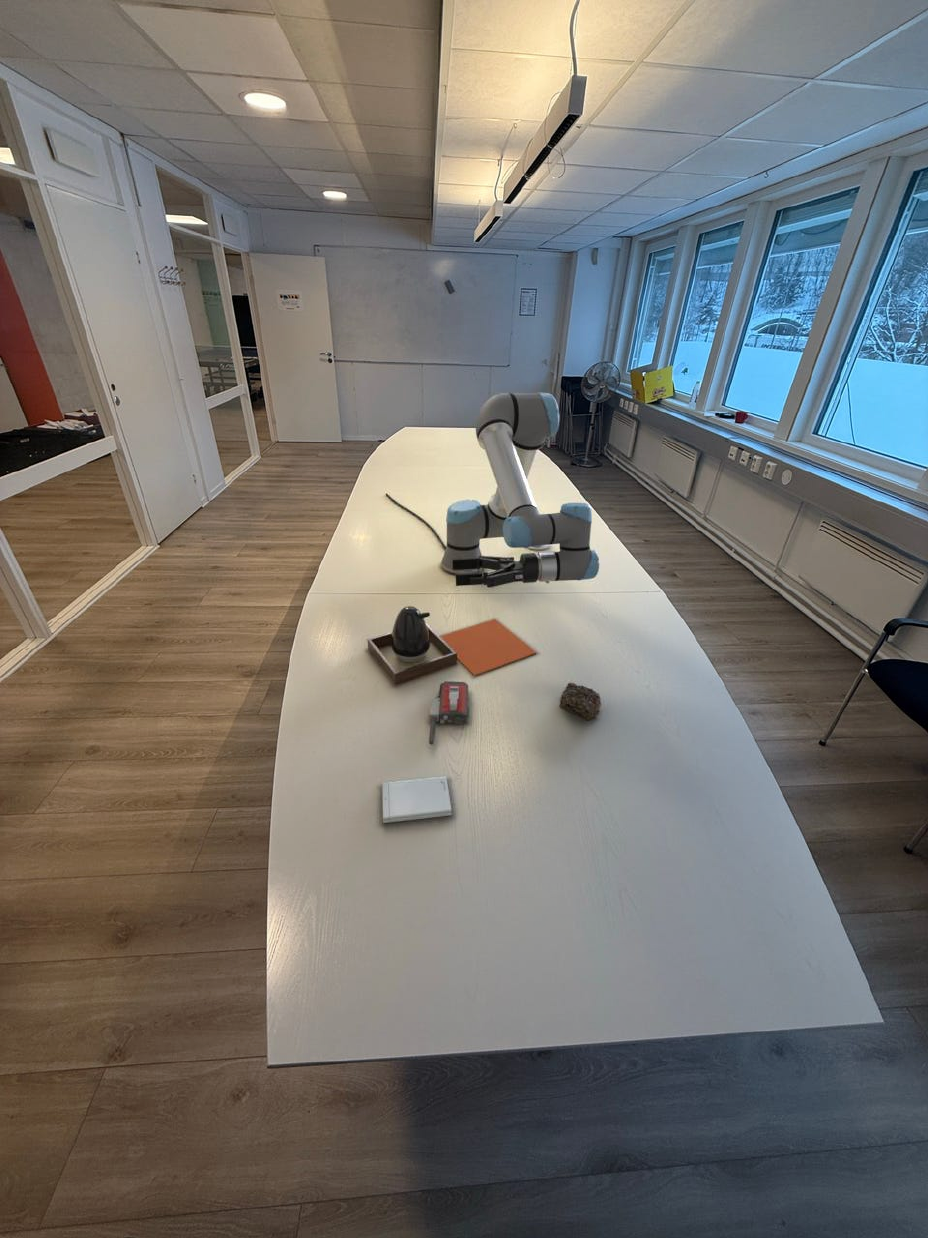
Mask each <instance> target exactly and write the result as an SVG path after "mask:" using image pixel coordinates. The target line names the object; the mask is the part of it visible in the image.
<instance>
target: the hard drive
mask: <svg viewBox="0 0 928 1238" xmlns="http://www.w3.org/2000/svg"><path fill="white" fill-rule="evenodd" d="M381 787H382V791H381V792H382V823H383V824H387V823H388V824H389V823H395V822H405V821H413V820H423V819H430V818H441V817H447V816H452V812H453V811H452V804H451V797H450V791H449V785H448V779H447V776H446V775H445V776H437V777H427V778H417V779H406V780H398V781H397V780H396V781H389V782H382V785H381Z"/></svg>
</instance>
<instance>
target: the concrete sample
mask: <svg viewBox="0 0 928 1238" xmlns="http://www.w3.org/2000/svg"><path fill="white" fill-rule="evenodd" d="M600 695H601V694H600V693H598V692H596V691H595V690H594V689H593V688H588V687H586V686H584V685H577V684H576V683H574V682H569V683H567V685H566V687H565V688H564V690H563V691H562V694H561V696H560V701H559V702H560V703H559V708H560V709H561V710H565V711H566V712H569V713H570V714H572V715H576V716H577V717H579V718H581V719H583V720H584V721H587V722H588V721H594V720H595V719H596V718H597V716H599V713H600V711H601V707H602V702H601V700H602V699H601V696H600Z"/></svg>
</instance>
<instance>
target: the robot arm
mask: <svg viewBox="0 0 928 1238" xmlns="http://www.w3.org/2000/svg"><path fill="white" fill-rule="evenodd" d="M559 426H560V410H559V406H558V402H557V400H556V397H554V395H553V394H551V393H549V392H540V391H537V392H512V393H508V392H503V393H498V394H495V395H493V396H491V397H490V398H488V400H487V401H485V403H484V404H483V405H482V406H481V408H480V409H479V412H478V414H477V416H476V422H475V435H476V439H477V442H478V446H479V447H480V448H481V449H483V450H484V451H485V454H486V457H487V461H488V463H489V466H490V469H491V472H492V474H493V477H494V480H495V483H496V490H495V493H494V494H492V495H491V496H490V497H489V499H488V503H486V504H481V502H480V501H478V500H474V499H464V500H462V499H461V500H459V501H456V502H453V503H451V504H450V505H449V506H448V508H447V511H446V518H445V519H446V520H445V522H446V545H445V544H444V541H443V540H442V538H441V537H440V536H439V534H438V533H437V531H436V530H435V529H434V528H433V527H432V526H431V525H430V524H429V523H428V522H427V521H426V520H425V519H424V518H422V517H421V516H419V514H416V513H415V512H413V511H412V510H410V509H409V508H407V507H406V506H404V505H403V504H401V503H399V502H398V501H397V500H395V499H393V498H392V497H391V496H390V495H389V493H387V492H386V493H385V496H386V497H387V498H388V499H389V500H391V501H392V502H393V503H395V504H396V505H397V506H399V507H400V508H402V509H404V510H405V511H407V512H408V513H410V514H411V515H413V516H414V517H416V518H417V519H418V520H420V521H421V522H423V524H425V525H426V526H427V527H428V528H429V529H430V531H432V532H433V534H434V535H435V536H436V538H437V539H438V541H439V543H440V544H441V546H442V548H443V549H444V553H443V557H442V558H441V568H442V570H443V571H444V572H446V573H449V574H451V575H455V586H456V587H464V586H480V585H481V586H486V588H488V589H489V588H490V589H491V588H493V587H499V586H503V585H508V584H512V583H518V582H522V583H523V584H531V583H532V584H533V583H537V582H539V583H545V584H550V582H564V581H565V582H566V581H568V582H569V581H578V582H579V581H584V580H590V579H591V580H592V579H594V578H596V577H597V575H598V573H599V570H600V562H599V561H600V558H599V557H600V556H599V555H598V552H597V551H596V550H595V549H591V544H590V542H591V531H592V524H593V521H592V520H593V519H592V517H593V516H592V507H591V505H590V504H588V503H585V502H567V503H562V504H561V505H560V510H559V512H555V513H554V512H553V513H542V514H541V513H539V510H538V508H537V504H536V502H535V500H534V497H533V494H532V490H531V488H530V485H529V483H528V477H529V475H530V472H531V468H532V467H533V466H532V465H533V462H534V460H535V456H536V454H537V451H538V450H540V449H542V448H543V447H544V446H545V442H546V439H547V437H548V438H551V437H554V436H555V435H556V434H557V432H558V430H559ZM495 538H503V539H504V540H503V541H504V543H505V544H506V545H507V546H508V547H509V548H512V549H521V548H522V549H527V548H528V547H532V546H540V545H549V546H550V545H559V551H543V552H540V551H539V552H537V553H535V552H528V553H526V552H525V553H522V554H521V555H520V557H519V560H518V561H517V560H515V557H513V556H508V557H507V556H491V555H482V551H481V548H480V541H481V540H482V539H495ZM483 569H486V570H492V571H490V572H487V571H483ZM481 571H483V572H481Z"/></svg>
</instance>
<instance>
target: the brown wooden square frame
mask: <svg viewBox="0 0 928 1238" xmlns="http://www.w3.org/2000/svg"><path fill="white" fill-rule="evenodd" d="M425 623H426V625H427V628H428V632H429V637H430V643H432V644H433V645H434V646H435V647H436V648H437V650H439V651H440V652H441V653H442V654H443V655H442V656H438V657H435V658H433V659H430V660H427V661H424V662H421V663H418V664H415V665H412V666H409V667H406V668H402V669H400V670H396V669H395V667H394V666H393V665H392V664H391V663H390V662H389V660H388V659H387V657H385V655H384V654H383V653H382V652H381V650H380V649H381V648H384V647H388V646H391V639H392V631H391V632H387V633H384V634H380V635H377V636H375V637H374V636H373V637H371V638H367V641H366V642H367V650H368V652H369V653H370V655H372V657H373V658H374V659H375V660H376V662H377V663H378V665H379V666H380V667H381V668H382V670H383V671H384V672H385V674H386V675H387V676H388V677H389V679H390V680H391V681H392V683H393V684H394V685H395V686H398V685H402V684H405V683H406V682H410V681H412V680H415V679H419V678H421V677H424V676H427V675H429V674H433V673H435V672H438V671H441V670H445V669H448V668H450V667H452V666H456V665H458V659H457V653H456V652H455V651H454V650H453V649H452V648H451V647H450V646H449V645H448V644H447V643H446V642H445V641H444V640H443V639H442V638H441V637H440V636H441V635H439V634H438V633H437V632H436V631H435V630H434V629H433V628H432V627H431V626H430V625H429V624H428V623H427V622H426V621H425Z"/></svg>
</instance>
